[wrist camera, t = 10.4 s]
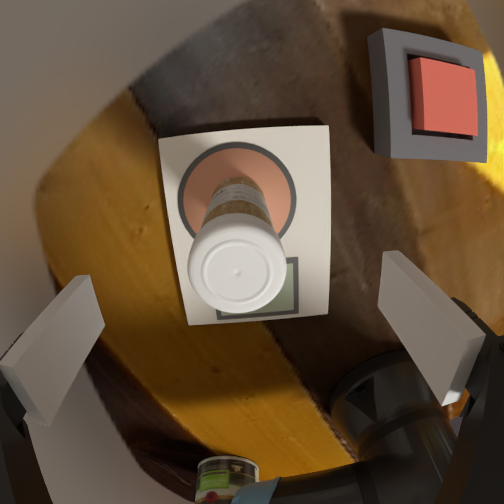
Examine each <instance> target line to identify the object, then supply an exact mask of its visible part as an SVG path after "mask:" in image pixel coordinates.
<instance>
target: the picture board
mask: <svg viewBox="0 0 504 504" xmlns="http://www.w3.org/2000/svg"><path fill="white" fill-rule="evenodd" d="M158 142H159V151H160V160H161V168H162V175H163V183H164V190H165V197H166V204H167V211H168V217H169V224H170V230H171V236H172V242H173V248H174V254H175V259H176V265H177V270H178V276H179V281H180V286H181V291H182V296H183V301H184V306H185V311H186V316H187V320H188V325H203V324H220V323H235V322H249V321H261V320H273V319H284V318H294V317H304V316H314V315H323V314H328V302H329V279H330V242H331V182H330V145H329V126H327V125H321V126H285V127H265V128H250V129H237V130H226V131H216V132H207V133H198V134H190V135H182V136H175V137H168V138H161V139H158ZM231 177H246V178H249V179H250V180H253V181H254V182H255V183H256V184H258V186H259V187H260V188H261V189H262V191H263V194H264V197H265V202H266V205H267V208H268V211H269V214H270V217H271V220H272V223H273V227H274V230H275V232H276V233H277V235H278V236H279V238H280V241H281V243H282V246H283V249H284V253H285V257H286V264H287V271H286V277H285V281H284V284H283V286H282V288H281V290H280V291H279V293H278V294H277V295H276V296H275V297H274V298H273V300H271V301H270V302H269V303H268V304H266V305H264V306H263V307H261V308H259V309H256V310H254V311H250V312H245V313H229V312H224V311H220V310H217V309H215V308H213V307H211V306H209V305H208V304H207V303H205V302H204V301H203V300H202V299H201V298H200V297H199V296H198V295H197V294H196V292H195V291H194V290H193V288H192V286H191V284H190V281H189V277H188V273H187V263H188V257H189V253H190V249H191V246H192V244H193V241H194V239H195V237H196V235H197V233H198V232H199V230H200V229H201V225H202V222H203V219H204V216H205V213H206V211H207V209H208V206H209V203H210V201H211V197H212V194H213V192H214V190H215V188H216V187H217V186H218V185H219V184H220V183H221V182H223V181H224V180H226V179H228V178H231Z"/></svg>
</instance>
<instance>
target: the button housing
mask: <svg viewBox="0 0 504 504" xmlns="http://www.w3.org/2000/svg"><path fill="white" fill-rule="evenodd" d="M367 42H368V51H369V61H370V72H371V85H372V100H373V121H374V153H375V154H378V155H382V156H385V157H389V158H407V159H434V160H452V161H467V162H480V163H487V101H486V85H485V73H484V64H483V56H482V51H479V50H475V49H472V48H469V47H466V46H462V45H459V44H456V43H452V42H448V41H444V40H441V39H437V38H432V37H428V36H424V35H419V34H414V33H409V32H404V31H399V30H393V29H387V28H381V29H379V30H378V31H376V32H374V33H373V34H371V35H369V36H368V37H367ZM420 57H421V58H426V59H431V60H436V61H441V62H445V63H449V64H454V65H458V66H462V67H466V68H469V69H473V70H475V78H476V91H477V112H478V136H474V135H466V134H458V133H450V132H440V131H430V130H420V129H412V127H411V100H410V84H409V72H408V61H409V60H413V59H416V58H420Z"/></svg>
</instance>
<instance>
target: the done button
mask: <svg viewBox="0 0 504 504" xmlns="http://www.w3.org/2000/svg"><path fill="white" fill-rule="evenodd" d="M408 72H409V84H410V100H411V127H412V129H420V130H430V131H440V132H450V133H458V134H466V135H474V136H478V112H477V91H476V78H475V70H473V69H469V68H466V67H462V66H458V65H454V64H449V63H445V62H441V61H436V60H431V59H426V58H421V57H420V58H416V59H413V60H409V61H408Z"/></svg>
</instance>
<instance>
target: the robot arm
mask: <svg viewBox="0 0 504 504" xmlns="http://www.w3.org/2000/svg"><path fill="white" fill-rule="evenodd" d="M378 307H379V309H380V310H381V312H382V313H383V315H384V316H385V318H386V319H387V321H388V322H389V324H390V325H391V327H392V328H393V330H394V331H395V333H396V334H397V336H398V337H399V339H400V340H401V342H402V343H403V345H404V346H405V348H406V350H398V351H392V352H388V353H384V354H381V355H379V356H376V357H374V358H372V359H370V360H368V361H366V362H364V363H362V364H361V365H359V366H358V367H356V368H355V369H353V370H352V371H351V372H350V373H348V374H347V375H346V376H345V377H344V378H343V379H342V380H341V381H340V382H339V384H338V385H337V386H336V388H335V389H334V391H333V393H332V395H331V398H330V403H329V407H330V412H331V415H332V419H333V422H334V424H335V426H336V427H337V429H338V430H339V431H340V432H341V434H342V435H343V436H344V437H345V439H346V440H347V441H348V442H349V444H350V445H351V446H352V447H353V449H354V450H355V451H356V453H357V456H358V459H359V462H356V463H353V464H348V465H344V466H340V467H336V468H331V469H327V470H322V471H317V472H312V473H307V474H302V475H296V476H290V477H283V478H282V477H276V478H275V479H272V480H266V481H260V482H254V483H249V484H246V485H244V486H242V487H241V488H240V489H239V490H238V491H237V492H236V494H235V495H234V497H233V499H232V502H231V504H504V336H497V335H496V334H495V333H494V332H493V331H492V330H491V329H490V328H489V327H488V326H487V325H486V324H485V323H484V322H483V321H482V320H481V319H480V318H478V316H477V315H476V314H475V313H474V312H472V310H471V309H470V308H469V307H468V306H467V305H466V304H465V303H463V302H461V301H460V300H458V299H456V298H454V297H453V298H449V297H448V296H447V295H446V294H445V293H444V292H443V291H442V290H441V289H440V288H439V287H438V286H437V285H436V284H435V283H434V282H433V281H431V280H430V279H429V278H428V277H427V276H426V275H425V274H424V273H423V272H422V271H421V270H420V269H419V268H417V267H416V266H415V265H414V264H413V263H412V262H411V261H410V260H409V259H407V258H406V257H405V256H404V255H403V254H402V253H401V252H400V251H398V250H397V251H386V252H383V260H382V271H381V281H380V290H379V298H378ZM104 327H105V323H104V320H103V317H102V314H101V311H100V308H99V305H98V302H97V298H96V295H95V292H94V288H93V285H92V282H91V278H90V275H77V276H75V277H74V278H73V279H72V280H71V281H70V282H69V284H68V285H67V286H66V287H65V288H64V289H63V290H62V291H61V292H60V293H59V294H58V295H57V296H56V297H55V298H54V300H53V301H52V302H51V303H50V304H49V305H48V306H47V307H46V308H45V309H44V310H43V311H42V313H41V314H40V315H39V316H38V317H37V318H36V319H35V320H34V322H33V323H32V324H31V325H30V326H29V327H28V328H27V330H26V331H25V332H23V333H22V334H20V335H19V337H18V338H17V339H16V340H15V341H14V344H12V345H11V346H10V348H9V350H7V351H6V352H5V353H4V355H3V356H2V357H1V358H0V504H53V502H52V500H51V498H50V495H49V493H48V490H47V487H46V485H45V482H44V479H43V476H42V473H41V471H40V467H39V464H38V461H37V458H36V455H35V452H34V448H33V445H32V441H31V438H30V434H29V430H28V426H27V424H26V422H25V420H24V419H23V417H24V415H25V413H26V412H27V413H28V415H29V416H30V418H31V419H32V420H33V422H34V423H37V424H41V425H45V426H50V424H51V423H52V421H53V418H54V417H55V415H56V413H57V411H58V409H59V407H60V405H61V403H62V401H63V399H64V397H65V395H66V393H67V392H68V390H69V388H70V386H71V384H72V382H73V381H74V379H75V377H76V375H77V373H78V372H79V370H80V368H81V366H82V364H83V363H84V361H85V359H86V357H87V356H88V354H89V352H90V350H91V349H92V347H93V345H94V344H95V342H96V340H97V338H98V337H99V335H100V333H101V332H102V330H103V328H104ZM465 388H466V389H467V390H468V392H469V393H470V396H469V398H468V400H467V402H466V404H465V406H464V408H463V410H462V412H461V414H460V417H462V416H463V419H462V423H461V427H460V431H459V434H458V437H457V436H456V434H455V432H454V430H453V428H452V426H451V425H450V423H449V421H448V420H447V418H446V416H445V414H444V412H443V410H442V407H441V406H444V405H447V404H450V403H453V402H456V401H458V400H460V397H461V395H462V393H463V391H464V389H465ZM463 414H464V415H463Z"/></svg>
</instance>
